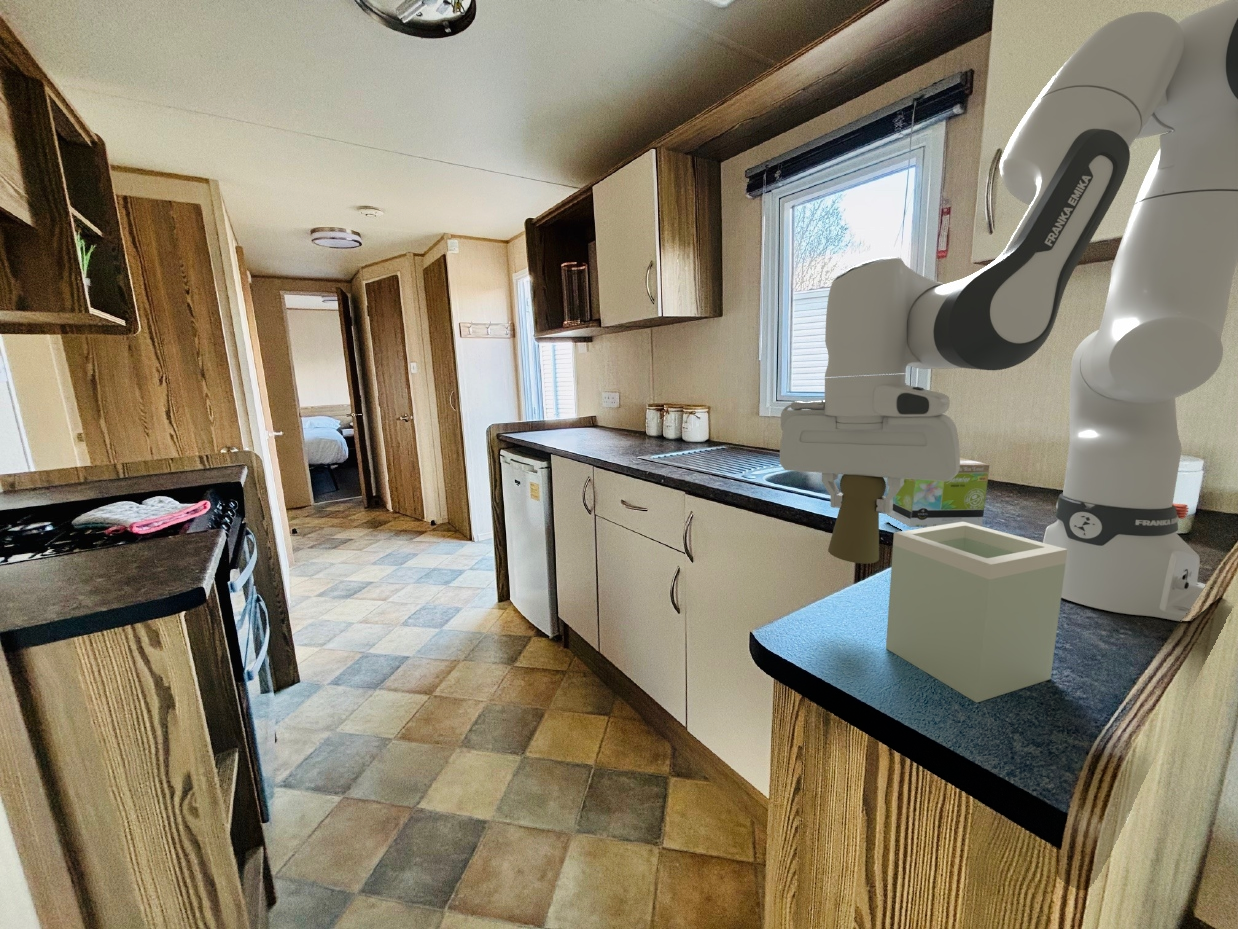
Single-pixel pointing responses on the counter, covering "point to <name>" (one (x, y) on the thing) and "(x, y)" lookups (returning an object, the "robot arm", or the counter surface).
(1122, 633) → the counter surface
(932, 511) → the tea box
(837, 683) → the counter surface
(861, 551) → the cork
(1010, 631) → the open top box
